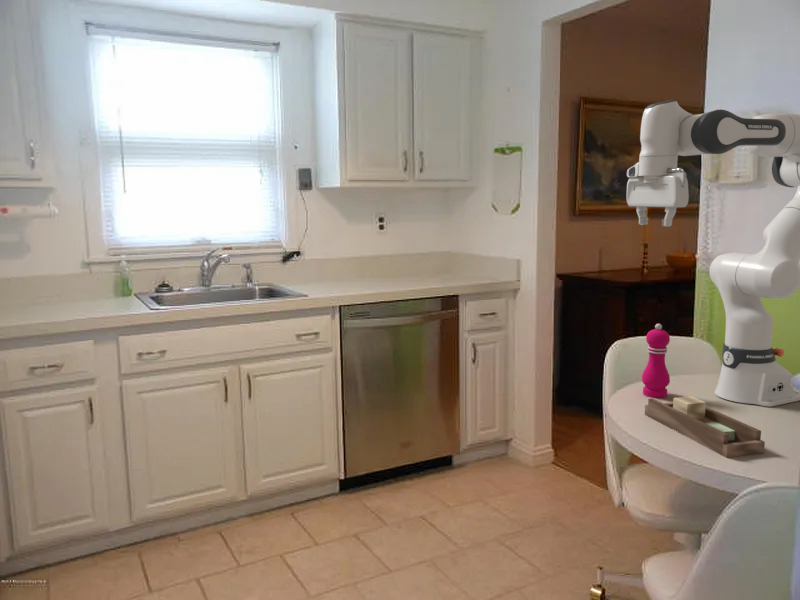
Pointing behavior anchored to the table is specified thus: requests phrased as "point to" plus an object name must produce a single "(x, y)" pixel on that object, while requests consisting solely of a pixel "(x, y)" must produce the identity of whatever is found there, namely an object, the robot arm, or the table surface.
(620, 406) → the table surface
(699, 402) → the maple block
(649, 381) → the pepper mill
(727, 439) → the tray
